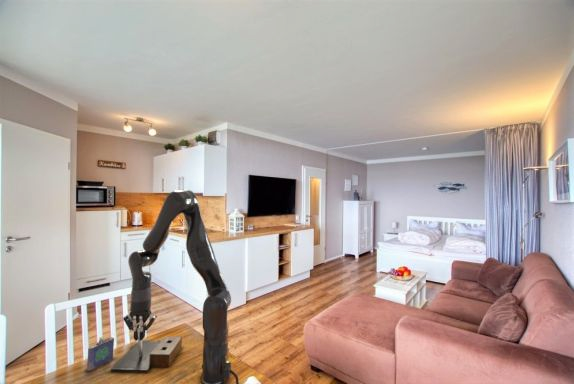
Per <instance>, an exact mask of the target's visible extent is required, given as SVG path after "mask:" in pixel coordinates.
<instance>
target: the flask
mask: <svg viewBox="0 0 574 384" xmlns="http://www.w3.org/2000/svg"><path fill="white" fill-rule="evenodd" d="M114 345H115V338H114V337H107V338H104V337H102V336H101V337H99V338H98V341H97V342H96V343H94V344H92V345H90V346H88V348H87V361H86V362H87V364H86V372H92V371H94V370H96V369H98V368H100V367H102V366H103V365H106V364H107V363H109V362H112V361H113V360H114Z"/></svg>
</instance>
